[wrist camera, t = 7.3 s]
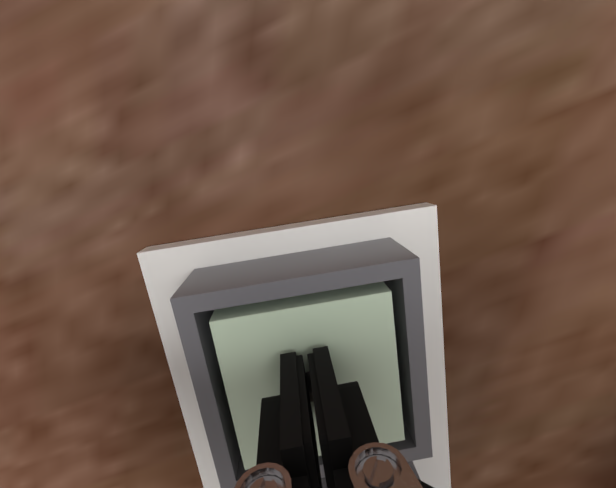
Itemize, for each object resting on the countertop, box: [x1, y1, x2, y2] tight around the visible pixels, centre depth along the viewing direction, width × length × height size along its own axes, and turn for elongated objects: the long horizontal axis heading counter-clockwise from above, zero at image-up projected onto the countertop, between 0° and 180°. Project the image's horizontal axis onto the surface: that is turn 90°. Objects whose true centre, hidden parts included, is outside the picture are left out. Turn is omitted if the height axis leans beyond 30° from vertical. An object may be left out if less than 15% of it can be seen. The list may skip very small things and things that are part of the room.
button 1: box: [209, 281, 405, 470], centre depth 13 cm, size 6×6×3 cm
